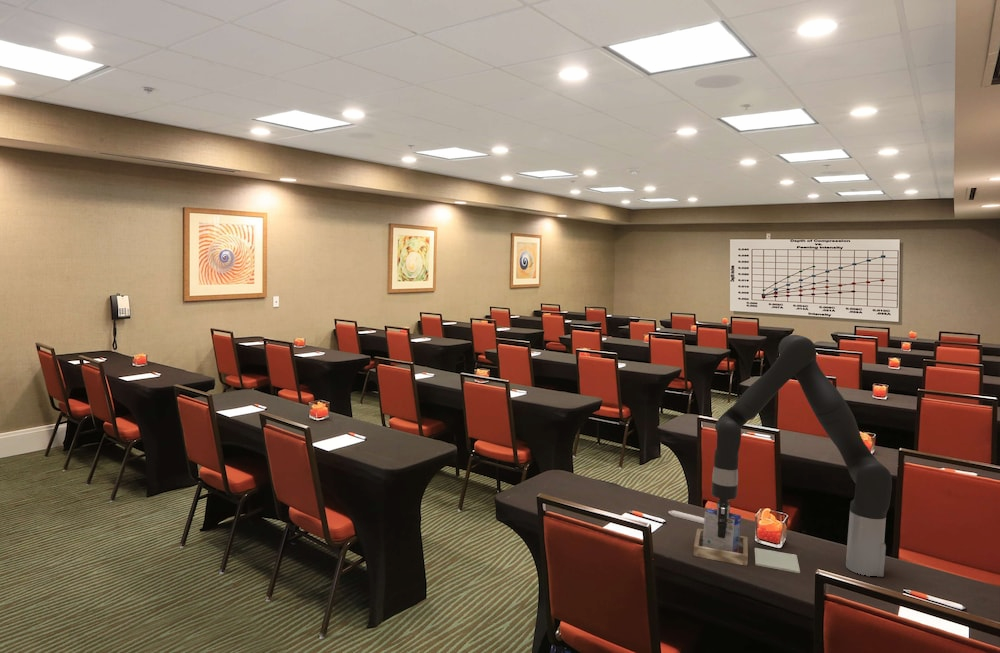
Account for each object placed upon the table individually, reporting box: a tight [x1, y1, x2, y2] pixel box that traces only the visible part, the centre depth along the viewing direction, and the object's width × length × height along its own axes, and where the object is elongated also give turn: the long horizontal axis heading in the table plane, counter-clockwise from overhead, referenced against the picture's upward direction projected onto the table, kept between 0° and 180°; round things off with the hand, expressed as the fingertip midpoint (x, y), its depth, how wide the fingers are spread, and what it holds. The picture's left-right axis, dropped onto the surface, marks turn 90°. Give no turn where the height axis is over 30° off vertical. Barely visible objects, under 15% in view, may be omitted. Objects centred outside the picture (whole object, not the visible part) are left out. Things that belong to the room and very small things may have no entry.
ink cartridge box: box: [702, 505, 742, 553], centre depth 191 cm, size 10×6×14 cm, turn 48°
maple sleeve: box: [692, 528, 749, 567], centre depth 191 cm, size 15×15×3 cm
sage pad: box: [754, 547, 801, 574], centre depth 185 cm, size 12×12×1 cm
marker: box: [668, 510, 704, 525], centre depth 216 cm, size 18×2×2 cm, turn 54°
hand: (721, 533), depth 191 cm, fingers closed on ink cartridge box, 6 cm apart
